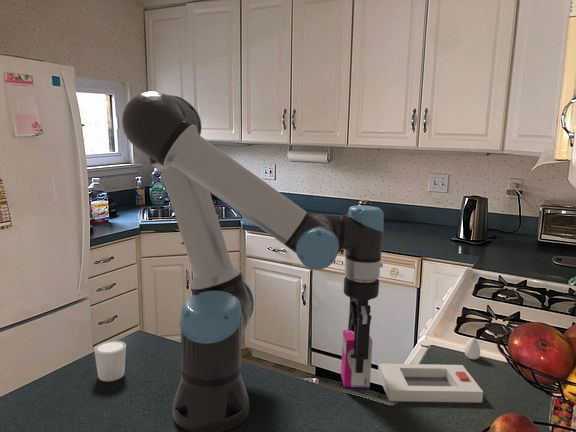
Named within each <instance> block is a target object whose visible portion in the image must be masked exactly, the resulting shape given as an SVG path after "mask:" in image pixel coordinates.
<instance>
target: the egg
mask: <svg viewBox="0 0 576 432" xmlns="http://www.w3.org/2000/svg"><path fill="white" fill-rule="evenodd" d="M463 351H464V354H465V357H467V358H468V359H470V360H477V359H479V358H480V356H481V348H480V344H479V342H478V340H477V339H476V338H475V337H471V338H470V339H469V340H468V341H467V342H466V343H465V346H464V350H463Z"/></svg>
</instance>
